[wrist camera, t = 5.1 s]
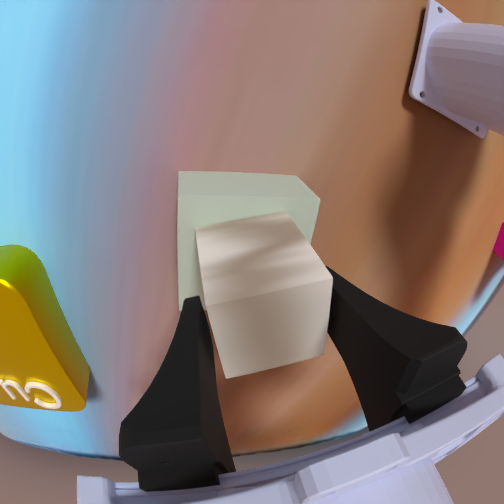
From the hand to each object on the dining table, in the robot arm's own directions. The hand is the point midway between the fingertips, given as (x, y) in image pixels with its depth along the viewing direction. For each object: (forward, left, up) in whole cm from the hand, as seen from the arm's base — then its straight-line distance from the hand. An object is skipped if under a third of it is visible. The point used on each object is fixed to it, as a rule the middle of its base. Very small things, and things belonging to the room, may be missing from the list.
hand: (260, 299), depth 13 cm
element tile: (+19, +11, -8) cm, 23 cm away
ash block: (0, 0, -3) cm, 3 cm away
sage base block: (0, 0, -7) cm, 7 cm away
